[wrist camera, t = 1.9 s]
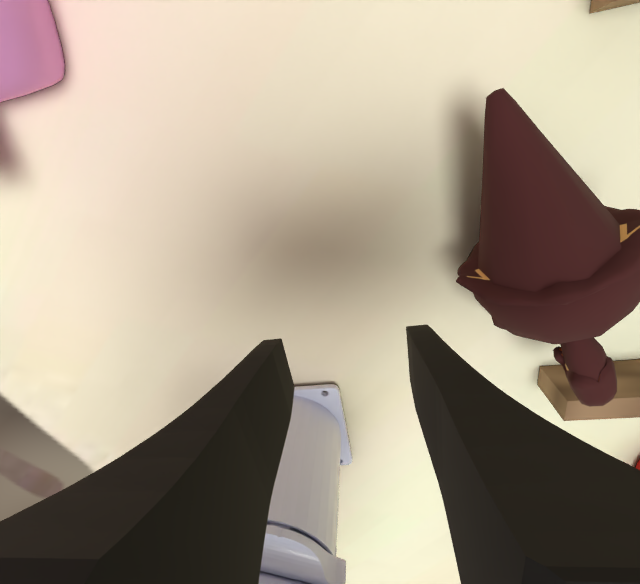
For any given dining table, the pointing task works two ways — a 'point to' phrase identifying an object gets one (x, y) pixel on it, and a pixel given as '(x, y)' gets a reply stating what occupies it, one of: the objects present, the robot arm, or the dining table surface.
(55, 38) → the teakettle
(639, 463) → the canned food
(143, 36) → the dining table surface
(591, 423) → the dining table surface
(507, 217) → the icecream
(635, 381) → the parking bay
